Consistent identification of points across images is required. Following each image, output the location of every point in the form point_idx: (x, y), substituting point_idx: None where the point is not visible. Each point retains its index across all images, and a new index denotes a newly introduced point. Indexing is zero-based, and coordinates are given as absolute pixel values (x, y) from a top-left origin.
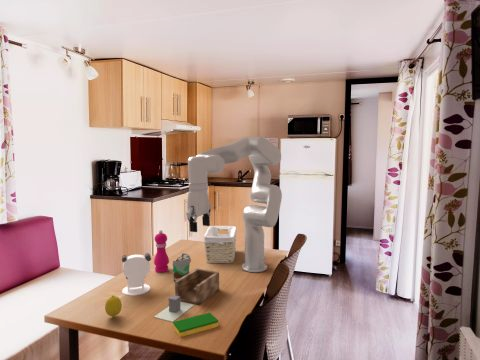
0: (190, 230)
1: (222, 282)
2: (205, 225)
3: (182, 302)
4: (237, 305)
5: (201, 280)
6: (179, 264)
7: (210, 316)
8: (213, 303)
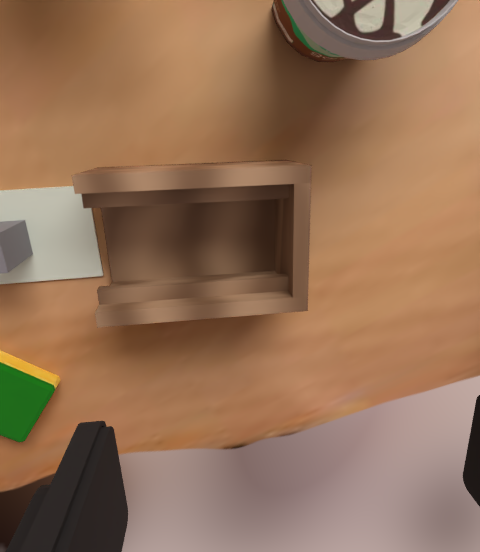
0: (79, 440)
1: (360, 250)
2: (471, 437)
3: (88, 220)
4: (192, 405)
5: (280, 200)
6: (301, 21)
7: (27, 408)
8: (160, 329)
